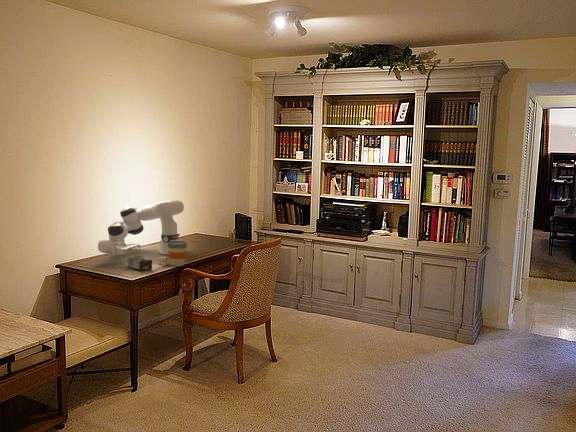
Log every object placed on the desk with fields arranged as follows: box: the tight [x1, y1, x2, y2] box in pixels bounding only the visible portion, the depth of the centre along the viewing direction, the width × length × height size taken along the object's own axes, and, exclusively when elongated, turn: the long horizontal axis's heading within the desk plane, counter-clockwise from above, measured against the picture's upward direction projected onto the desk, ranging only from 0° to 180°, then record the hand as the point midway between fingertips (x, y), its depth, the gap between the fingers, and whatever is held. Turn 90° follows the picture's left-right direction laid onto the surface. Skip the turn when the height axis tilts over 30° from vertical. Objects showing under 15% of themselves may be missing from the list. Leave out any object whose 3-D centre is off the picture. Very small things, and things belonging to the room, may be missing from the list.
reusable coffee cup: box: [167, 240, 188, 267], centre depth 351 cm, size 13×13×15 cm
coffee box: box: [127, 255, 153, 272], centre depth 337 cm, size 9×6×16 cm
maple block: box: [157, 256, 168, 266], centre depth 351 cm, size 5×5×5 cm
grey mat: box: [150, 263, 164, 271], centre depth 342 cm, size 14×14×1 cm
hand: (138, 249), depth 343 cm, fingers closed
